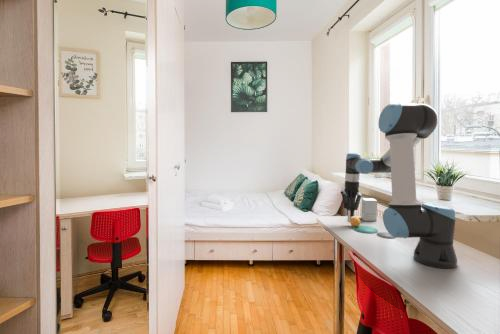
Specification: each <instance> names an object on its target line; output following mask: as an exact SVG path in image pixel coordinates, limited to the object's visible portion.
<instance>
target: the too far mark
mask: <svg viewBox="0 0 500 334" xmlns="http://www.w3.org/2000/svg"><path fill="white" fill-rule="evenodd" d="M376 235H377V236H378V237H380V238H383V239H396V237H393V236H392V235H390V234H389V233H388V232H387V231H386V232H383V231H380V232H379V231H378V232H377V233H376Z"/></svg>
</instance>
